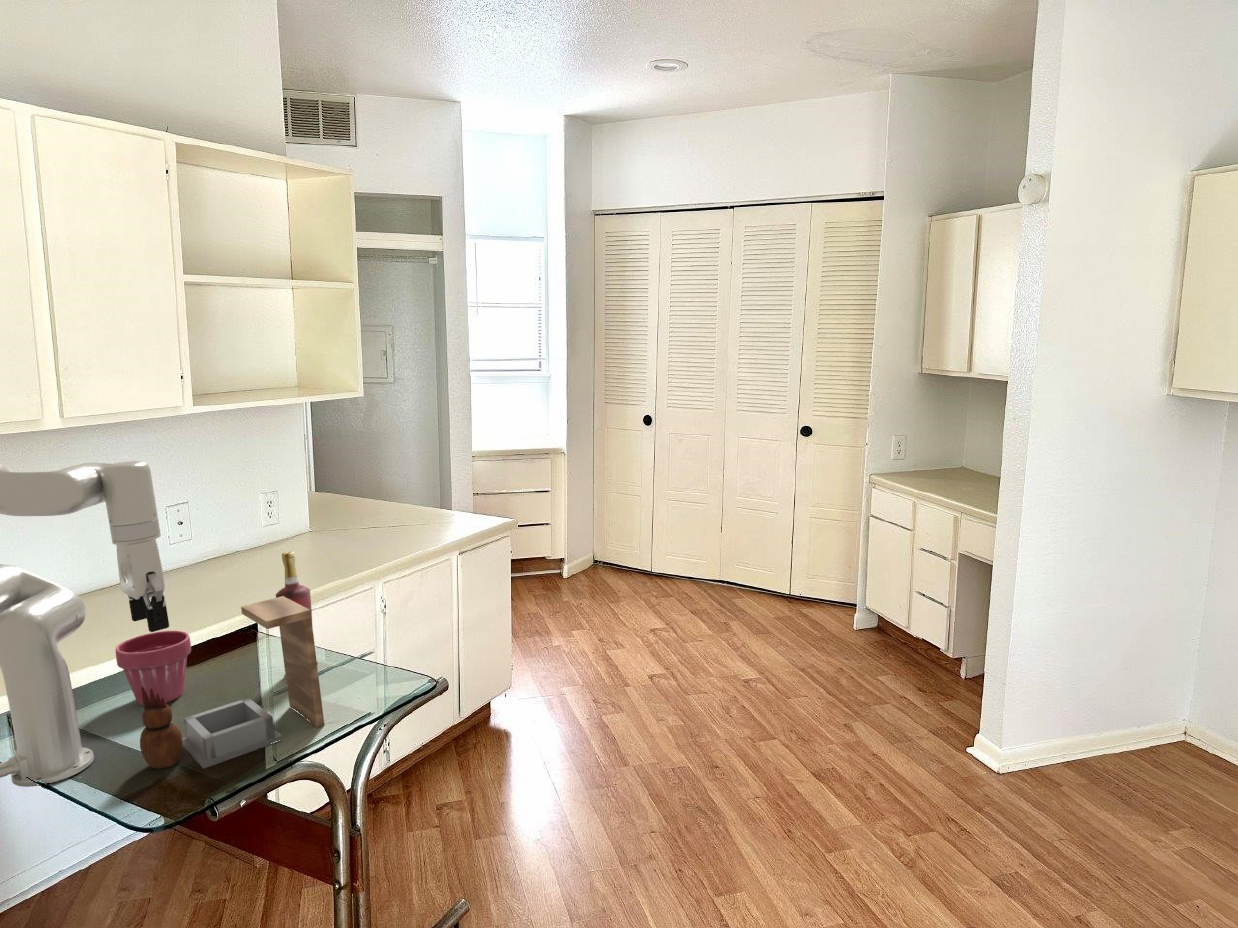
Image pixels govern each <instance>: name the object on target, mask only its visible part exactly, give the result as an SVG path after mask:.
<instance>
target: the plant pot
mask: <svg viewBox="0 0 1238 928" xmlns="http://www.w3.org/2000/svg"><path fill="white" fill-rule="evenodd" d="M191 652H192V644H191V638H190V635H189V633H187V632H186V631H181V630H163V631H162V630H160V631H154V632H149V633H146V634H142V635H138V636H135V637H132V638H129V639H127V640H125V641H123V642H121V643H119V644H118V645H116V647H115V659H116V665H117V667H118V668H120V669H123V673H124V675H125V677H126V679H127V682H128V684H129V687H130V688H131V691H132V693H133V696H134V698H135V700H136V703H137V704H138V705H141V706H144V704H143V697H142V690H141V687H144V689H145V691H146V693H147V695H148V697H149V699H150V689H151V688H152V689H153V692H154V695H155V698H156V694H159V696H160V699H161V698H162V697H164V699H165V701H166V703H169V702H172V701H175V700H176V699H178V698H180V697H182V695H183V694H184V691H185V682H186V674H187V673H186V672H187V665H188V663H187V662H188V656H189V655H190V654H191Z"/></svg>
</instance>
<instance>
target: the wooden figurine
mask: <svg viewBox="0 0 1238 928" xmlns="http://www.w3.org/2000/svg"><path fill="white" fill-rule="evenodd" d="M141 690H142V697H143V704H144V705H143V709H144V710H143V711H142V714H141V715H142V716H141V720H142V724H143V725H144V728H143V729H142V731H141V733H140V739H139V748H140V752H141V754H142V758H143V760H144V761H145V762H146V763H147V765H148V766H149V767H151V768H153V769H165V768H169V767H172V766H174V765H175V764H176V763H177V762H178V761H179V760H180V758H181V755H182V752H183V739H182V738H183V735H182V732H181V729H180V727H178V726H177V725H176V724H175V723H172V721H173V720H172V719H173V711H172V708H171V706H169V705H168V704H167V702H166V701H165V699H164V697H162V698H161V699H160V696H159V694H156V698H155V695H154V692H153V689H152V688H151V689H150V699H149V697H148V695H147V693H146V691H145V689H144V687H141Z"/></svg>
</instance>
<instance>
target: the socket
mask: <svg viewBox="0 0 1238 928" xmlns="http://www.w3.org/2000/svg"><path fill="white" fill-rule="evenodd" d="M183 720H184V728H185V735H186V737H182V739H183V745H182V748H184V749H185V750H186V751H187V752H188V753H189V755H191V757H193V759H194V760H195V761H196V763H198V764H199V766H201V768H202V769H208V768H209V767H212V766H215V765H218V764H221V763H223V762H226V761H230V760H231V759H234V758H237V757H240V756H242V755H246V754H248V753H251V752H255V751H257V750H259V748H260V749H263V748H265V747H267V746H266V745H268V746H270V745H269V744H271V743H273V742H275V741H279V740H281V739H282V740H283V738H282V735H281V733H279V732H278V731H277V730H276V729H275V726H274V717H273V716H272V715H271V714H270V713H269V712H267V711H266V710H265V709H264V708H262V707H261V706H260V705H258V704H257V702H255V701H254V700H253V699H251V698H250V697H246V698H243V699H240V700H238V701H233V702H231V703H227V704H225V705H221V706H217V707H216V708H215V707H214V708H212V709H209V710H205V711H202V712H199V713H195V714H193V715H190V716H186V717H184V718H183ZM279 742H280V741H279ZM271 745H272V744H271Z"/></svg>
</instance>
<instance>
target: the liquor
mask: <svg viewBox="0 0 1238 928" xmlns="http://www.w3.org/2000/svg"><path fill="white" fill-rule="evenodd" d="M281 560H282V563H283V567H284V587H282V588H280V589H279V590H278V591H277V592H276V593H275V598H278V597H282V596H284V597H286V598H288V599H290V600H292V601H294V602H296V603H298V604H300V605H302V606H304V607H306V608H308V609H310V611H311V619H312V620H313V612H312V611H313V610H312V609H313V608H312V598H311V588H308V586H305V585H302V584H300V582H299V578H298V572H297V569H296V555H295V551H286V552H282V553H281ZM318 664H319V662H318V661H317V666H318Z"/></svg>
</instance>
